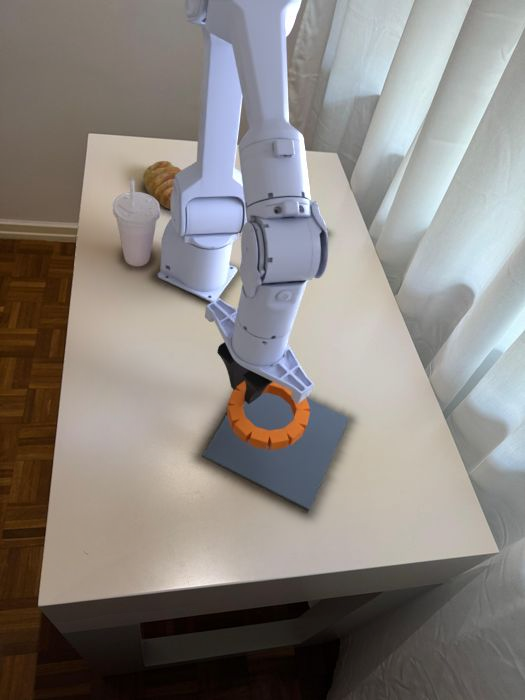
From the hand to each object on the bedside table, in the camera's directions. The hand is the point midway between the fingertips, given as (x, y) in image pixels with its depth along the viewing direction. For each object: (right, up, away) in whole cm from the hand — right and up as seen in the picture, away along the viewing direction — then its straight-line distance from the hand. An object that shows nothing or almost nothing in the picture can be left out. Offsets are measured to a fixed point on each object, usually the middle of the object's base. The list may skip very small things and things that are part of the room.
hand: (246, 391), depth 67 cm
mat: (+4, -6, +4) cm, 8 cm away
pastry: (-14, +31, +29) cm, 45 cm away
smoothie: (-17, +19, +19) cm, 31 cm away
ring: (+3, -3, -1) cm, 4 cm away
